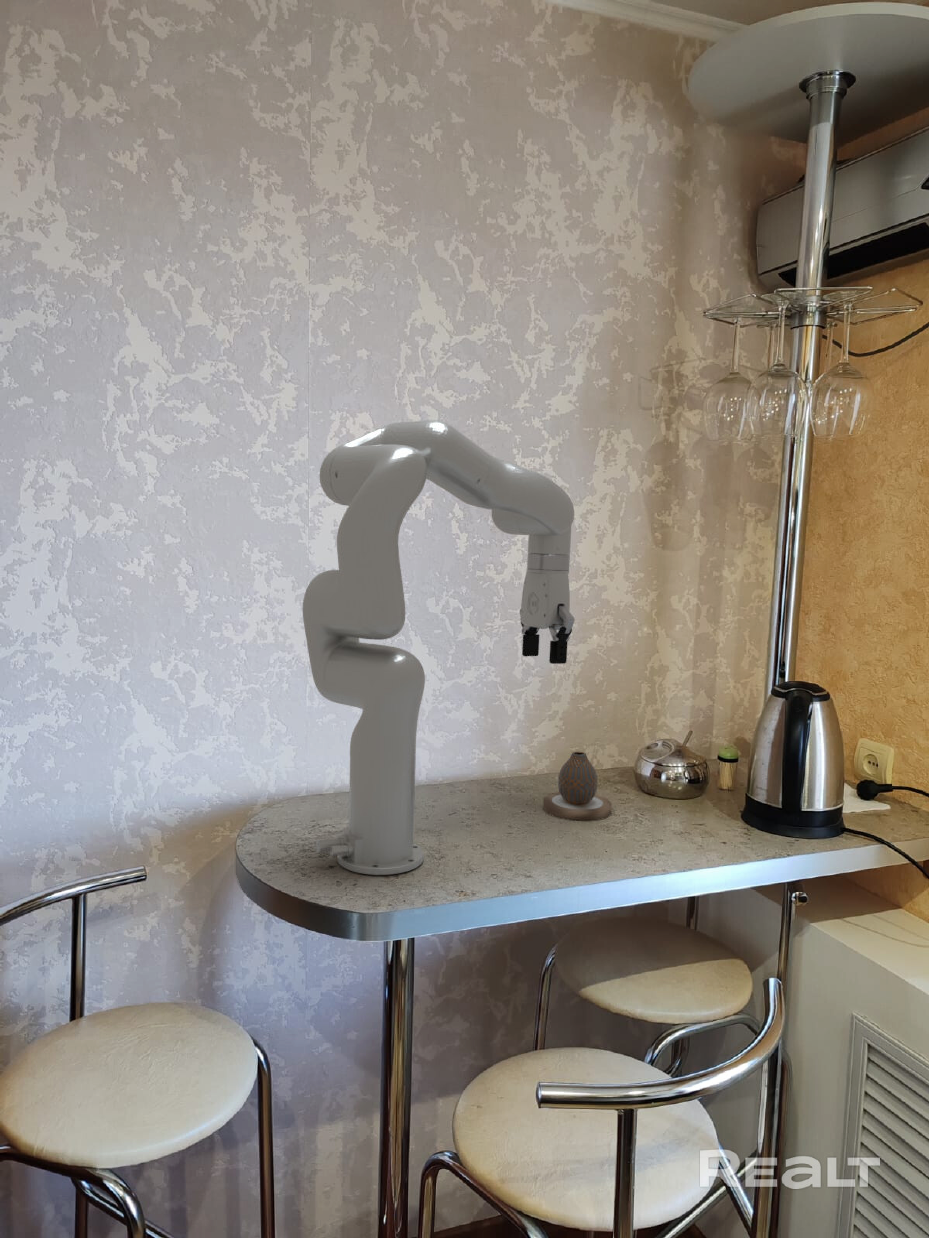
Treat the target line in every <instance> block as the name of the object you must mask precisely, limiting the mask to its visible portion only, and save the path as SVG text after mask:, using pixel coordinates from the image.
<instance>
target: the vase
mask: <svg viewBox="0 0 929 1238" xmlns="http://www.w3.org/2000/svg"><path fill="white" fill-rule="evenodd" d="M598 781H599V780H598V775H597V771H596V769H595V767H594V766H593V764H592V762H591V761H590V760H589V758H588V755H587V753H586V752H584V751H573V752H572V753H571V755H570V756H569V758H568V759H567V760H566V762H564V764H563V765H562V767H561V768H560V770H559V773H558V779H557V786H558V791H559V792H560V794H561V796H562V798H563V799H564V800H565V801H566V802H567V803H569V804H574V805H585V804H587V803H589V802H590V801H591V800H592V799H593V798H594V796H595V795H597V790H598V783H599V782H598Z"/></svg>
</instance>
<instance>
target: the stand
mask: <svg viewBox="0 0 929 1238" xmlns="http://www.w3.org/2000/svg"><path fill="white" fill-rule="evenodd" d="M542 799H543V801H542V809H544V810H543V811H544V812H545V811H546V812H547V813H546V812H545V813H546V814H548V815H550V814H551V815H550V816H552V815H553V816H552V817H554V816H555V818H557V819H562V818H564V819H563V820H567V819H569V820H568V821H575V820H576V821H577V822H579V821H580V822H589V821H590V822H592V821H591V820H594V821H599V820H598V819H601V820H603V819H602V818H604V819H607V818H608V816H609V815H610V814H612V804H613V803H612V802H611V800H609V799H607V798H606V797H604V796H601V795H598V794H595V796H594V798H593V799H592V800H591V801H590V802H589V803H587V804H585V805H574V804H569V803H567V802H566V801H565V800H564V799H563V798H562V796H561V794H560V792H554V793H550V794H547V795H546V796H544V797H543V798H542ZM610 816H611V815H610ZM610 816H609V817H610ZM606 817H607V818H606ZM576 821H575V822H576Z"/></svg>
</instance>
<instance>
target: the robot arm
mask: <svg viewBox="0 0 929 1238" xmlns="http://www.w3.org/2000/svg"><path fill="white" fill-rule="evenodd" d="M426 481H430V482H431V483H433V484H435V486H438V487H440V488H441V489H443V490H444V491H446V492H448V493H449V494H451V495H452V496H453V497H455V498H457V499H458V500H459V501H461V502H463V503H465V504H466V505H470V506H474V507H476V508H480V509H481V508H482V509H486V510H491V513H490V514H491V520H492V521H493V524H494V525H495V527H496V528H497V529H498V530H499V531H501V532H503V533H505V534H509V535H514V536H515V535H518V536H528V541H527V542H528V543H527V563H526V573H525V577H524V581H523V586H522V587H523V588H522V595H521V604H520V605H521V606H520V609H519V614H520V618H519V619H520V620H519V621H520V625H521V627H522V628H521V634H522V649H521V650H522V652H521V654H522V656H523V657H539V654H540V653H539V652H540V650H539V649H540V634H538V632H539V631H540V630H541V629H542V630H545V629H548V630H549V632H550V635H551V638H552V640H550V641H549V642H550V643H549V660H548V661H549V662H548V663H549V664H552V665H553V664H554V665H555V664H556V665H559V664H567V662H568V661H567V659H568V657H567V656H568V643H569V641H570V635H571V634H572V633H573V626H574V623H575V620H576V619H575V617H574V615H573V614H572V613H571V612H570V610H571V609H570V604H571V603H570V598H571V597H570V579H569V574H570V562H571V561H570V560H571V556H570V555H571V540H572V525H573V523H574V519H575V509H574V508H575V507H574V504H573V501H572V499H571V497H570V496H569V494H568V493H567V492H566V491H565V490H564V489H563V488H562V487H561V486H560V485H558V484H557V482H554V481H553V480H552V479H550V478H548V476H547V477H546V476H545V475H543V474H541V473H539V472H536V471H533V470H531V469H527V468H525V467H523V466H519V465H517V464H514V463H512V462H509V461H505V460H502V459H500V458H497V457H494V456H492V455H491V454H490V453H488V452H487V451H485V450H484V449H483V448H482V447H480V446H479V445H478V444H476V443H475V442H474V441H472V440H471V439H470V438H468V437H467V436H465V434H463V433H462V432H460V431H459V430H458V429H456V428H455V427H453V426H452V425H450V424H448V423H446V422H443V421H440V420H436V419H433V420H431V419H429V420H427V419H426V420H417V421H415V420H414V421H402V422H394V423H390V424H387V425H384V426H381V427H379V428H377V429H374V430H371V431H370V432H368V433H365V434H363V435H361V436H359V437H357V438H355V439H352V440H349V441H348V442H346V443H343V444H340V445H339V446H337V447H335V448H334V449H332V450H330V452H328V454H327V455H326V456H325V458H324V459H323V461H322V463H321V466H320V469H319V483H320V486H321V489H322V491H323V492H324V495H326V497H327V498H329V499H330V500H331V501H332V502H334V503H336V504H338V505H341V506H347V509H346V510H345V512H344V514H343V517H342V518H341V520H340V523H339V525H338V529H337V532H336V533H337V535H336V551H337V552H336V555H337V563H338V564H337V565H338V569H330V570H325V571H322V572H320V573H318V574H317V575H316V576H314V577H313V578H312V579H311V581H310V582H309V584H308V585H307V587H306V590H305V593H304V596H303V600H302V619H303V626H304V634H305V640H306V644H307V651H308V657H309V664H310V668H311V669H310V670H311V675H312V678H313V681H314V682H313V683H314V685H315V688H316V689H317V691H318V692H319V694H320V695H321V696H322V697H323V698H325V699H326V700H328V701H330V702H332V703H336V704H339V705H343V706H344V705H345V706H349V707H354V708H358V709H361V710H362V713H361V715H360V717H359V719H358V720H357V723H356V725H355V727H354V729H353V731H352V734H351V738H350V741H349V790H348V791H349V795H348V801H349V802H348V803H349V805H348V807H349V808H348V827H347V826H346V827H342V828H341V830H342V832H341V833H342V834H341V833H340V834H337V836H336V837H333V838H329V837H326V838H319V839H316V840H315V850H316V853H317V854H322V853H329V855H330V856H331V857H335V856H337V857H336V858H337V863H338V864H339V865H340V866H341V867H342V868H344V869H345V870H347V871H351V872H353V873H354V872H355V873H357V874H364V875H370V876H371V875H373V876H374V875H375V876H387V875H396V874H402V873H406V872H410V871H412V870H414V869H416V868H418V867H420V865H422V864H423V861H424V850H423V849H422V848H421V846H419V845H418V844H416V843H414V832H415V828H414V827H415V798H416V797H415V795H416V755H417V754H416V752H417V751H416V750H417V731H418V729H417V728H418V722H419V721H418V720H419V714H420V708H421V704H422V700H423V696H424V690H425V686H426V685H425V684H426V683H425V682H426V675H425V670H424V667H423V665H422V663H421V661H420V660H419V659H418V658H417V656H415V654H412V653H411V652H410V651H408V650H405V649H403V648H401V647H395V646H390V645H384V644H376V643H366V642H360V639H363V640H379V641H380V640H382V641H383V640H388V639H391V638H393V637H395V636H397V635H398V634H400V632H401V631H402V630H403V627H404V626H405V622H406V602H405V601H406V600H405V593H404V585H403V578H402V577H403V576H402V570H401V568H402V567H401V561H400V553H399V552H400V551H399V549H400V548H399V537H400V530H401V527H402V524H403V522H404V519H405V517H406V514H408V513H407V512H408V511H409V510H410V508H411V507H412V506H413V504H414V502H415V501H416V500H417V498H418V497H419V496H420V494H421V493H422V491H423V489H424V487H425V484H426Z"/></svg>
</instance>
